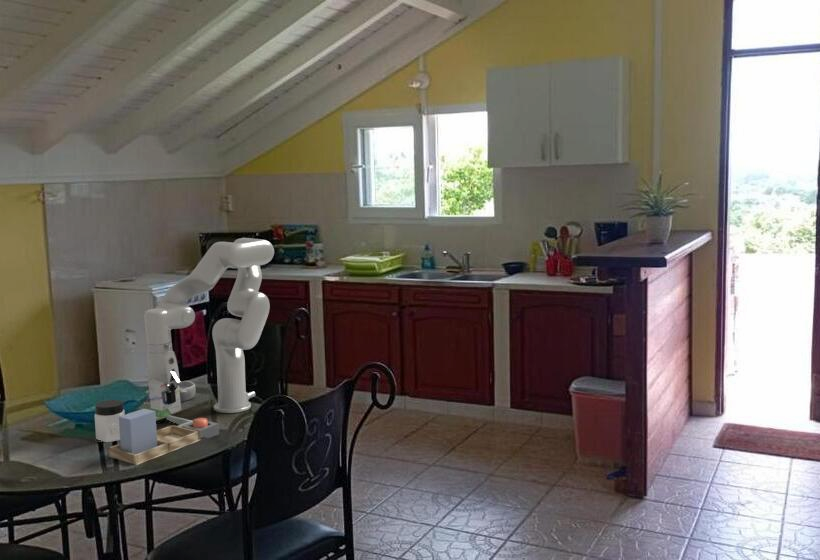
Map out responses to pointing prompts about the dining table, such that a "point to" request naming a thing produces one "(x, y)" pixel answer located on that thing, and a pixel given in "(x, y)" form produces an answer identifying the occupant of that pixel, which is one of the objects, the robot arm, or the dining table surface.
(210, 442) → the dining table surface
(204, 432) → the grey square frame
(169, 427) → the wooden compartment tray
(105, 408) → the jar
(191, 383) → the dish
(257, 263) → the robot arm
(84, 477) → the dining table surface
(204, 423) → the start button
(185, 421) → the pale green square frame
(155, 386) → the ink box
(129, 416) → the seated billet
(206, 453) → the dining table surface
